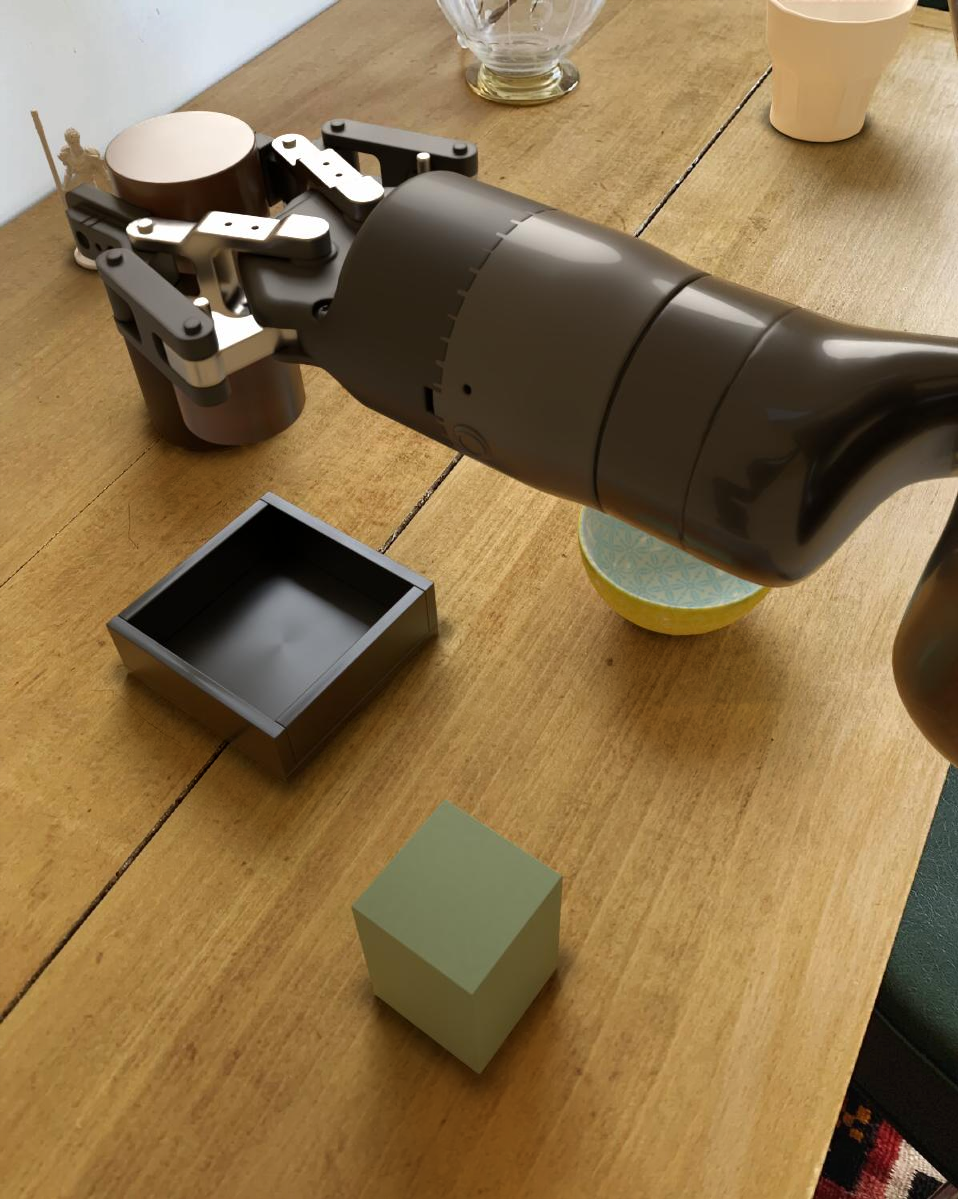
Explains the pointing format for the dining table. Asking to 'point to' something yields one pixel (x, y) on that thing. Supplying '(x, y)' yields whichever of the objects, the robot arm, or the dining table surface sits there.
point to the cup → (830, 62)
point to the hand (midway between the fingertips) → (143, 179)
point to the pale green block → (461, 933)
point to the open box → (277, 632)
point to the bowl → (659, 579)
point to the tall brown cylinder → (231, 185)
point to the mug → (165, 405)
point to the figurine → (74, 170)
